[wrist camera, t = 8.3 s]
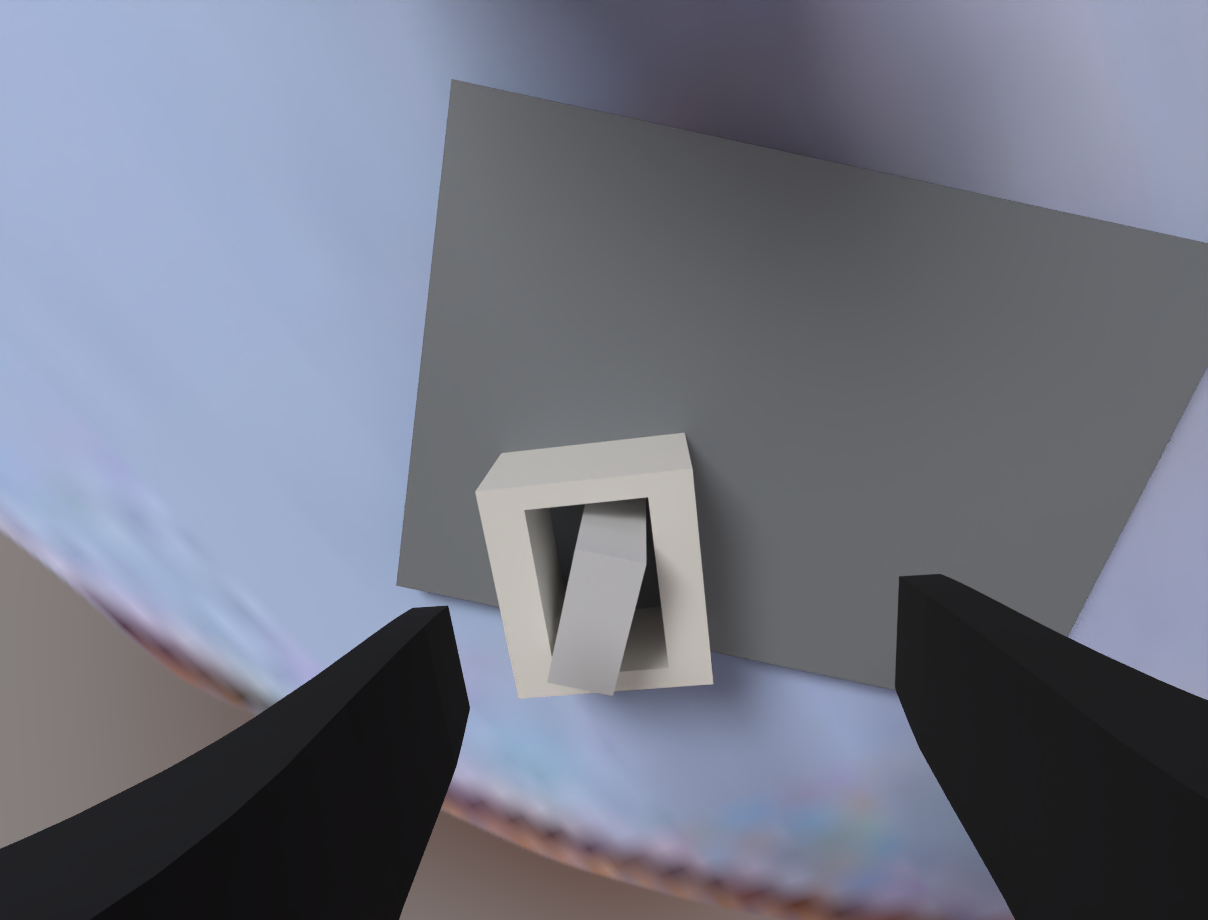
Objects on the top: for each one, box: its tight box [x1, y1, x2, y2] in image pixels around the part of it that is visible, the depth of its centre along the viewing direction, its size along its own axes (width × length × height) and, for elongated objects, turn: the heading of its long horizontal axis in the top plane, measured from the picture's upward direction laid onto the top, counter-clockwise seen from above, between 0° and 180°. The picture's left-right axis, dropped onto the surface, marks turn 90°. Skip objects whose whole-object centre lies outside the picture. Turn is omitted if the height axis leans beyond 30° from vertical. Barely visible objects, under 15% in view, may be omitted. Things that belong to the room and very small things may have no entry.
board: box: [396, 79, 1208, 696], centre depth 16 cm, size 20×14×6 cm
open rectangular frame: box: [475, 433, 713, 698], centre depth 17 cm, size 5×6×3 cm
